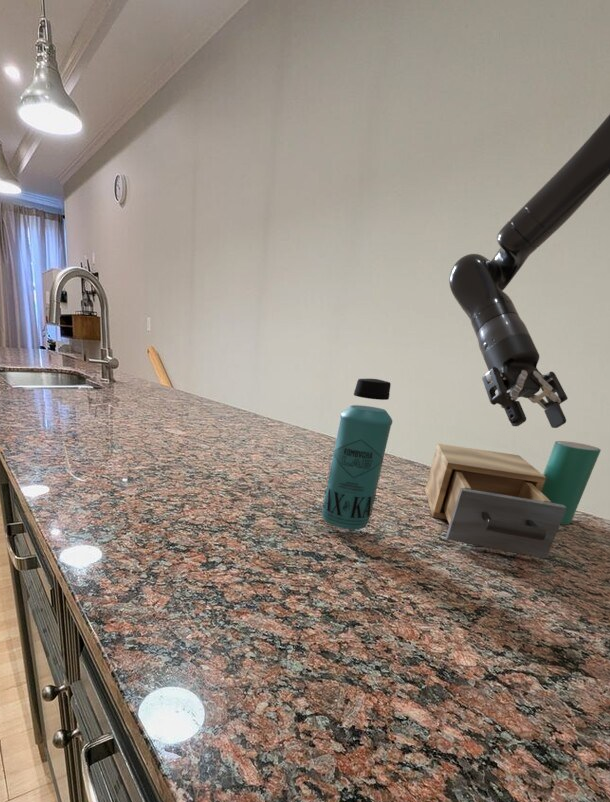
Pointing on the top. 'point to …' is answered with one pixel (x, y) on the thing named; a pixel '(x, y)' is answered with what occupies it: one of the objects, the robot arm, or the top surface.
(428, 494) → the cabinet
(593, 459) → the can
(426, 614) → the top surface
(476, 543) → the drawer
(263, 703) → the top surface
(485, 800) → the top surface
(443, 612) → the top surface
